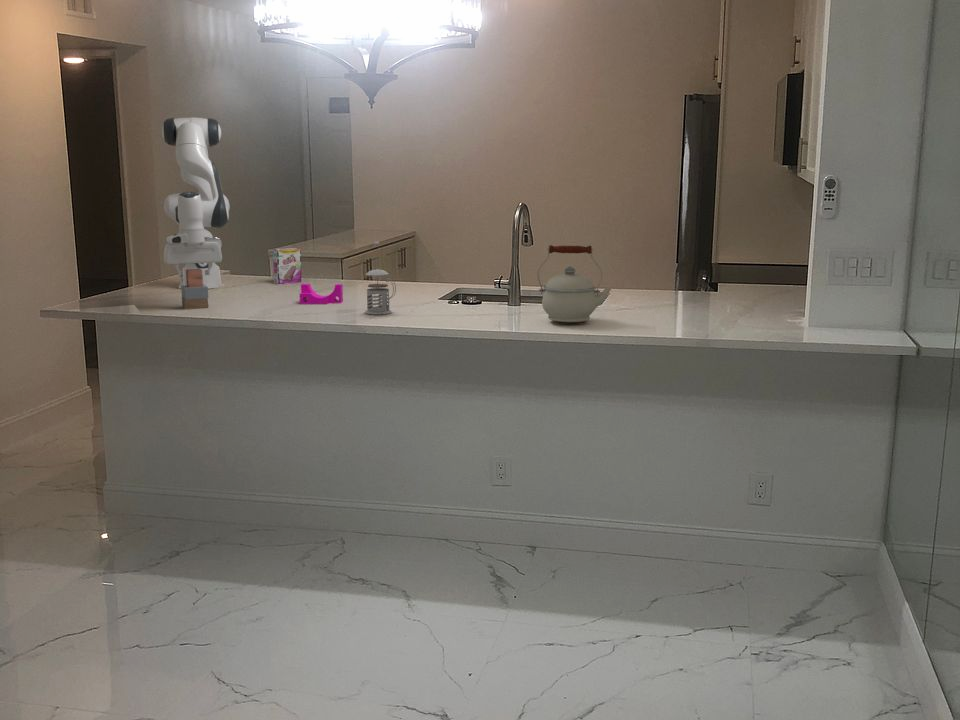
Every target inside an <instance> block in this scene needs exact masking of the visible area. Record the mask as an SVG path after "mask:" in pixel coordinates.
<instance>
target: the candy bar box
mask: <svg viewBox="0 0 960 720" xmlns="http://www.w3.org/2000/svg"><path fill="white" fill-rule="evenodd" d="M301 251H302V250H301V248H296V247H290V248H273V249H272V267H273V270H272V273H273V274H272V277H273V278H272V279H273V284H274V283H276V284H275V285H278V284H281V285H286V284H285V283H290V284H298V283H302V254H301V253H302V252H301Z"/></svg>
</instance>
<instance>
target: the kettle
mask: <svg viewBox="0 0 960 720" xmlns="http://www.w3.org/2000/svg"><path fill="white" fill-rule="evenodd" d="M547 251H548V253H547V257H546V259H545V260H544V261H543V262H542V263H541V265H540V266H539V268H538V270H537V271H536V272H537V273H536V274H537V281H538V284H539V286H540V288H539V289H538V292H540V294H543V296H542V298H541V299H542V300H541V305H542V309H543V310H544V312H545V313H546V314H547V319H548V320H550V321H554V322H561V323H581V322H582V323H583V322H586V321H589V320H590V316H591V315H592V313H594V311H595V310H596V309H597V308H598V307H599V306H600V305H602V304H603V302H604V301H606V300H605V299H606V298H607V296H608V295H609V294H610V292H611V290H612V287H609V286H606V287H605V288H603V291H602V292H601V290H600V289H599V287H600V285H601V283H602V279H603V270H602V268H601V267H600V266H599V264H598V263H597V261H596V260H595V259H594V258H593V251H594V248H593V246H592V245H587V246H583V245H557V246H554V245H552V244H550V245H548V247H547ZM553 253H557V254H558V253H559V254H584V253H586V254H589V255H590V257H591V260H592V261H593V263H594V264H595V265H596V267H597V268H598V269H599V272H600V274H601V277H600V281H599V284H598V285H597V287H596V286H595V285H594V284H593V282H592V280H591V279H590V278H588V277H586V276H584V275H581V274H576V272H577V271H576V270H575V268H574V267H573V266H571V265H570V266H568V267H566V268H565V269H564V270H563V272H564V273H563V274H562V273H561V274H557V275H555V276H554V275H553V276H552V277H551V278H549V279H548V280H547V282H546V284H545V285H544V286H542V283H541V281H540V276H539V273H540V270H541V268H542V266H543V265H545V263H546V262H547V261H548V259H549V257H550V254H553Z"/></svg>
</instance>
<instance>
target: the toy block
mask: <svg viewBox="0 0 960 720" xmlns="http://www.w3.org/2000/svg"><path fill="white" fill-rule="evenodd" d="M343 285H344V284H343V283H336V284H335V285H334V287H333V288H334V289H333V291H332V292H331V293H329V294H328V295H320V294H318V293H317V292H315V291H314V289H313V288H312V286H311V283H301V284H300V293H299V305H328V304H342V303H343V302H344V295H343V294H344V292H343V289H344V288H343V287H344V286H343ZM337 298H338V299H337Z"/></svg>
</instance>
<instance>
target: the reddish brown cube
mask: <svg viewBox="0 0 960 720" xmlns="http://www.w3.org/2000/svg"><path fill="white" fill-rule="evenodd" d="M186 282H187V287H189V288H190V287H203V277H202V270H201V269H189V270H186Z"/></svg>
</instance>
